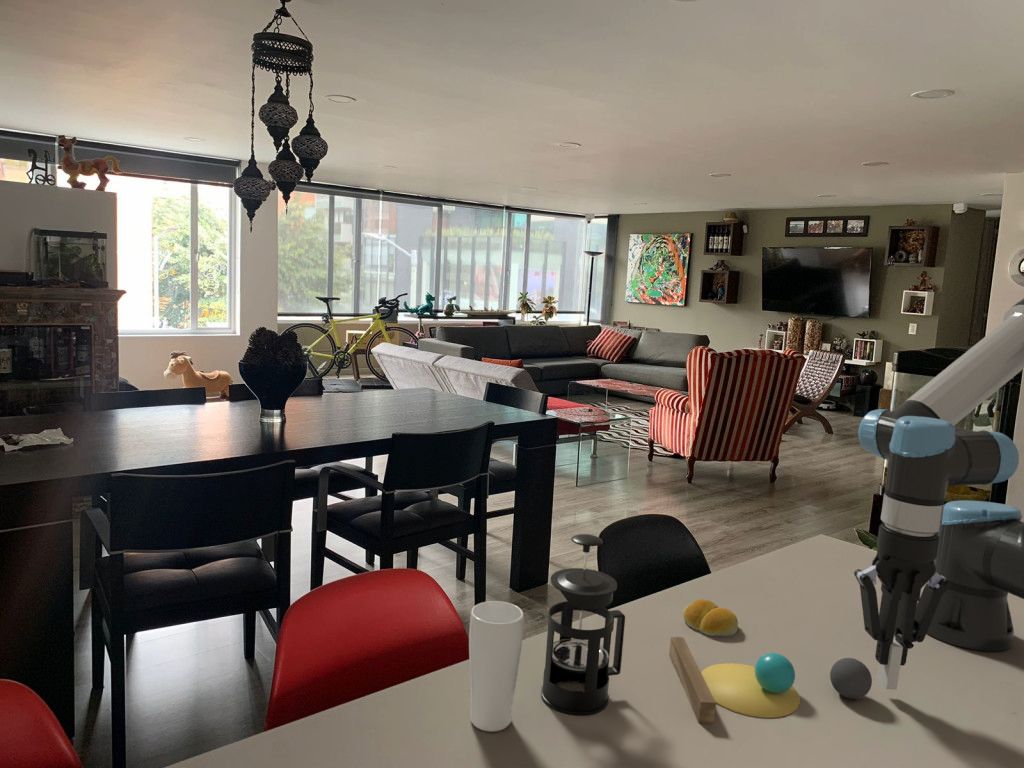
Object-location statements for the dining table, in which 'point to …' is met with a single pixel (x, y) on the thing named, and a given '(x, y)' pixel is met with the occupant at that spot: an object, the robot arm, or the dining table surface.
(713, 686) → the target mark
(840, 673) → the ball
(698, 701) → the wall
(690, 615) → the bread roll
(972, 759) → the dining table surface
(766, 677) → the ball
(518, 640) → the drinking glass
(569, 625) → the french press
